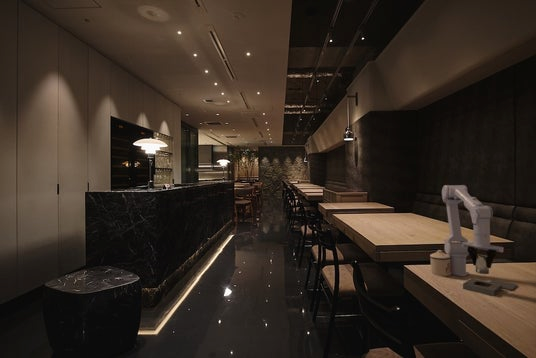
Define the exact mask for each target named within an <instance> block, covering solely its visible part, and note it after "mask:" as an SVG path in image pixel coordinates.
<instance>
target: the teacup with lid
mask: <svg viewBox="0 0 536 358" xmlns="http://www.w3.org/2000/svg"><path fill="white" fill-rule="evenodd" d="M429 257H430V258H429V259H430V271H431V274H432V275H434V276H437V277H450V276H451V275H452V274H451V262H450V258H451V257H450V255H448V254H447V253H446V252H443V251H442V250H441V249H438V250H437V251H436V252H434V253H431V254H430V255H429Z"/></svg>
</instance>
